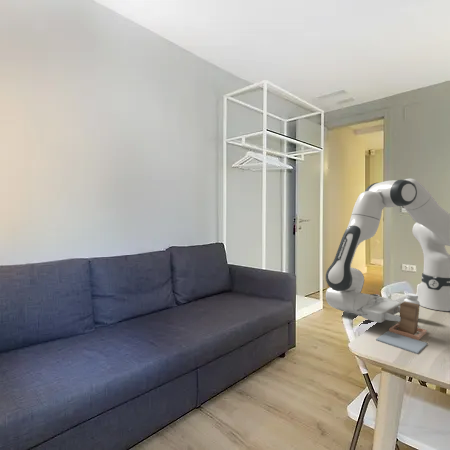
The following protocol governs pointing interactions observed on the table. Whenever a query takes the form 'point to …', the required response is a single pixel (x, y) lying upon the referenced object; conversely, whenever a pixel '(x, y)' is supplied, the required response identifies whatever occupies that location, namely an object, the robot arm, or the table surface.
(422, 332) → the terracotta frame
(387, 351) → the table surface
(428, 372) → the table surface
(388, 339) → the rubber mat
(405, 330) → the walnut block
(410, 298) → the supplement bottle
